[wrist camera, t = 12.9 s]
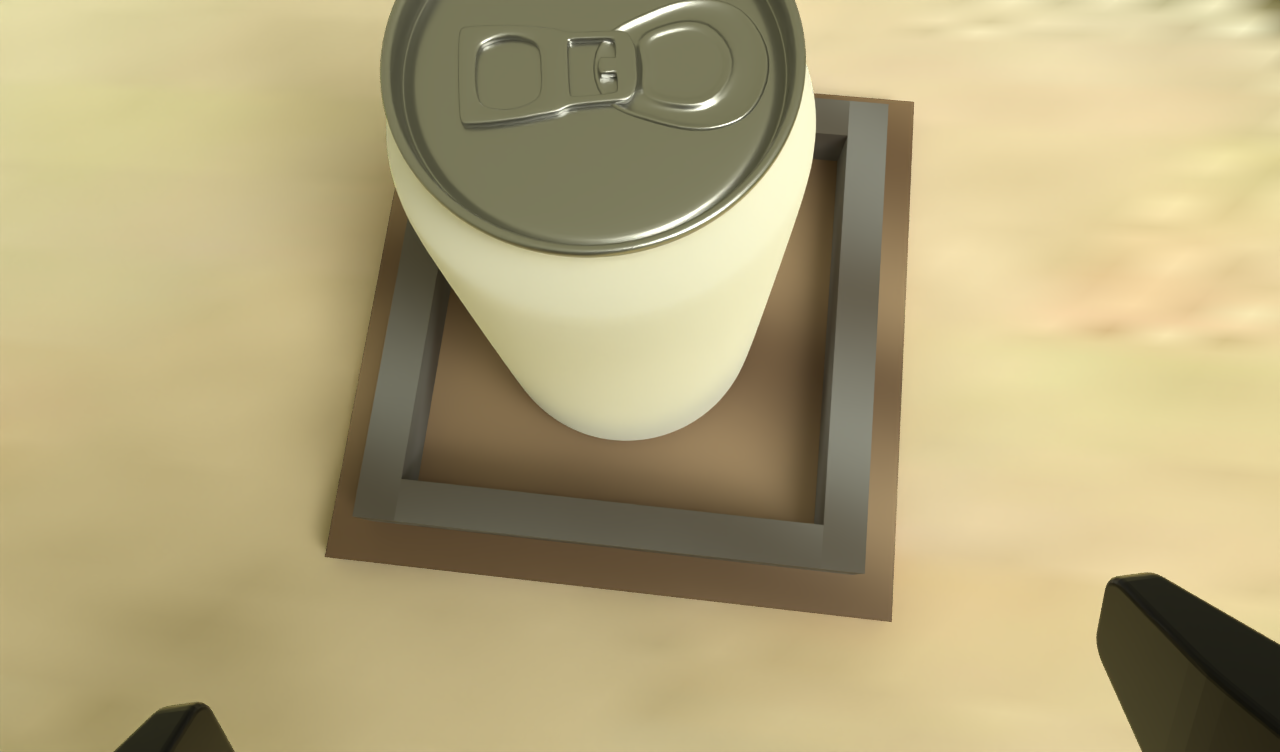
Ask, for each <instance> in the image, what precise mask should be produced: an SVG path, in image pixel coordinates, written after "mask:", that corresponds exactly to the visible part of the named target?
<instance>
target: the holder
mask: <svg viewBox="0 0 1280 752" xmlns="http://www.w3.org/2000/svg"><path fill="white" fill-rule="evenodd" d="M814 99H815V109H816V134H815V144H814V153H813V160H812V165H811V170H810V174H809V178H808V181H807V185H806V189H805V192H804V196H803V199H802V202H801V205H800V208H799V211H798V214H797V217H796V220H795V223H794V226H793V229H792V232H791V235H790V238H789V241H788V244H787V247H786V250H785V252H784V255H783V258H782V261H781V264H780V267H779V270H778V272H777V275H776V278H775V281H774V284H773V287H772V289H771V292H770V295H769V298H768V301H767V303H766V306H765V309H764V312H763V315H762V317H761V320H760V323H759V326H758V328H757V331H756V334H755V337H754V339H753V342H752V344H751V347H750V350H749V352H748V355H747V357H746V359H745V362H744V364H743V366H742V368H741V370H740V372H739V374H738V376H737V378H736V379H735V381H734V383H733V384H732V385H731V387H730V388H729V390H728V391H727V392H726V394H725V395H724V396H723V397H722V398H721V399H720V400H719V402H718V403H717V404H716V405H715V406H714V407H712V408H711V409H710V410H709V411H708V412H707V413H705V414H704V415H703V416H701V417H700V418H699V419H697V420H695V421H694V422H692V423H691V424H689V425H687V426H685V427H683V428H681V429H679V430H677V431H674V432H672V433H669V434H666V435H662V436H659V437H655V438H650V439H644V440H634V441H619V440H609V439H602V438H598V437H594V436H590V435H587V434H584V433H581V432H578V431H576V430H574V429H572V428H570V427H568V426H566V425H564V424H562V423H561V422H559V421H557V420H556V419H554V418H553V417H552V416H550V415H549V414H548V413H546V412H545V411H544V410H543V409H542V408H540V407H539V406H538V405H537V404H536V403H535V402H534V401H533V400H532V398H531V397H530V396H529V395H528V394H527V393H526V391H525V390H524V389H523V388H522V386H521V385H520V384H519V382H518V381H517V380H516V378H515V377H514V375H513V374H512V373H511V371H510V370H509V368H508V367H507V366H506V364H505V363H504V362H503V360H502V359H501V357H500V356H499V354H498V353H497V352H496V350H495V349H494V347H493V346H492V345H491V343H490V342H489V340H488V339H487V337H486V336H485V335H484V333H483V332H482V330H481V329H480V327H479V326H478V325H477V323H476V322H475V320H474V319H473V317H472V316H471V315H470V313H469V312H468V310H467V309H466V307H465V306H464V304H463V303H462V302H461V300H460V299H459V297H458V296H457V294H456V293H455V291H454V290H453V288H452V287H451V286H450V284H449V283H448V281H447V280H446V278H445V277H444V275H443V274H442V272H441V271H440V269H439V268H438V266H437V265H436V263H435V262H434V260H433V259H432V257H431V256H430V254H429V253H428V251H427V250H426V248H425V247H424V245H423V243H422V242H421V240H420V238H419V237H418V235H417V233H416V232H415V230H414V228H413V227H412V225H411V223H410V221H409V219H408V217H407V215H406V213H405V211H404V208H403V206H402V204H401V201H400V199H399V196H398V193H397V191H396V188H395V192H394V197H393V202H392V207H391V213H390V218H389V223H388V228H387V234H386V239H385V244H384V249H383V255H382V260H381V265H380V270H379V276H378V281H377V286H376V291H375V297H374V302H373V307H372V312H371V317H370V323H369V328H368V333H367V338H366V344H365V349H364V354H363V359H362V365H361V370H360V375H359V380H358V386H357V391H356V396H355V401H354V407H353V412H352V417H351V422H350V428H349V433H348V438H347V443H346V449H345V454H344V459H343V464H342V470H341V475H340V480H339V485H338V491H337V496H336V501H335V506H334V512H333V517H332V522H331V527H330V533H329V538H328V543H327V548H326V554H325V557H331V558H339V559H348V560H357V561H366V562H374V563H383V564H392V565H400V566H409V567H418V568H427V569H435V570H444V571H453V572H461V573H470V574H479V575H488V576H496V577H505V578H514V579H522V580H531V581H540V582H549V583H557V584H566V585H575V586H583V587H592V588H601V589H610V590H618V591H627V592H636V593H644V594H653V595H662V596H671V597H679V598H688V599H697V600H705V601H714V602H723V603H732V604H740V605H749V606H758V607H766V608H775V609H784V610H793V611H801V612H810V613H819V614H827V615H836V616H845V617H854V618H862V619H871V620H880V621H888V622H892V601H893V578H894V555H895V532H896V508H897V485H898V462H899V439H900V416H901V393H902V370H903V346H904V323H905V300H906V277H907V254H908V231H909V207H910V184H911V161H912V138H913V115H914V102H909V101H897V100H885V99H873V98H861V97H849V96H838V95H826V94H814Z"/></svg>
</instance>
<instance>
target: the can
mask: <svg viewBox="0 0 1280 752" xmlns="http://www.w3.org/2000/svg"><path fill="white" fill-rule="evenodd" d="M380 83H381V93H382V100H383V106H384V110H385V115H386V118H387V120H386V142H387V153H388V160H389V165H390V170H391V174H392V178H393V181H394V185H395V188H396V191H397V193H398V196H399V199H400V201H401V204H402V206H403V208H404V211H405V213H406V215H407V217H408V219H409V221H410V223H411V225H412V227H413V228H414V230H415V232H416V233H417V235H418V237H419V238H420V240H421V242H422V243H423V245H424V247H425V248H426V250H427V251H428V253H429V254H430V256H431V257H432V259H433V260H434V262H435V263H436V265H437V266H438V268H439V269H440V271H441V272H442V274H443V275H444V277H445V278H446V280H447V281H448V283H449V284H450V286H451V287H452V288H453V290H454V291H455V293H456V294H457V296H458V297H459V299H460V300H461V302H462V303H463V304H464V306H465V307H466V309H467V310H468V312H469V313H470V315H471V316H472V317H473V319H474V320H475V322H476V323H477V325H478V326H479V327H480V329H481V330H482V332H483V333H484V335H485V336H486V337H487V339H488V340H489V342H490V343H491V345H492V346H493V347H494V349H495V350H496V352H497V353H498V354H499V356H500V357H501V359H502V360H503V362H504V363H505V364H506V366H507V367H508V368H509V370H510V371H511V373H512V374H513V375H514V377H515V378H516V380H517V381H518V382H519V384H520V385H521V386H522V388H523V389H524V390H525V391H526V393H527V394H528V395H529V396H530V397H531V398H532V400H533V401H534V402H535V403H536V404H537V405H538V406H539V407H540V408H542V409H543V410H544V411H545V412H546V413H548V414H549V415H550V416H552V417H553V418H554V419H556V420H557V421H559V422H561V423H562V424H564V425H566V426H568V427H570V428H572V429H574V430H576V431H578V432H581V433H584V434H587V435H590V436H594V437H598V438H602V439H609V440H619V441H634V440H644V439H650V438H655V437H659V436H662V435H666V434H669V433H672V432H674V431H677V430H679V429H681V428H683V427H685V426H687V425H689V424H691V423H692V422H694V421H695V420H697V419H699V418H700V417H701V416H703V415H704V414H705V413H707V412H708V411H709V410H710V409H711V408H712V407H714V406H715V405H716V404H717V403H718V402H719V400H720V399H721V398H722V397H723V396H724V395H725V394H726V392H727V391H728V390H729V388H730V387H731V385H732V384H733V383H734V381H735V379H736V378H737V376H738V374H739V372H740V370H741V368H742V366H743V364H744V362H745V359H746V357H747V355H748V352H749V350H750V347H751V344H752V342H753V339H754V337H755V334H756V331H757V328H758V326H759V323H760V320H761V317H762V315H763V312H764V309H765V306H766V303H767V301H768V298H769V295H770V292H771V289H772V287H773V284H774V281H775V278H776V275H777V272H778V270H779V267H780V264H781V261H782V258H783V255H784V252H785V250H786V247H787V244H788V241H789V238H790V235H791V232H792V229H793V226H794V223H795V220H796V217H797V214H798V211H799V208H800V205H801V202H802V199H803V196H804V192H805V189H806V185H807V181H808V178H809V174H810V170H811V165H812V160H813V153H814V144H815V134H816V109H815V99H814V92H813V87H812V82H811V78H810V74H809V71H808V68H807V65H806V49H805V39H804V32H803V27H802V23H801V19H800V15H799V12H798V8H797V5H796V3H795V0H396V1H395V3H394V5H393V8H392V11H391V13H390V16H389V19H388V22H387V26H386V30H385V33H384V38H383V44H382V50H381V60H380Z"/></svg>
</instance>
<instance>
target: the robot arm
mask: <svg viewBox="0 0 1280 752" xmlns="http://www.w3.org/2000/svg"><path fill="white" fill-rule="evenodd" d="M1096 638H1097V648H1098V652H1099V656H1100V659H1101V661H1102V664H1103V666H1104V668H1105V670H1106V672H1107V675H1108V677H1109V679H1110V681H1111V684H1112V686H1113V688H1114V690H1115V693H1116V695H1117V697H1118V699H1119V701H1120V704H1121V706H1122V708H1123V710H1124V713H1125V715H1126V717H1127V719H1128V722H1129V724H1130V726H1131V728H1132V730H1133V733H1134V735H1135V737H1136V739H1137V742H1138V744H1139V746H1140V748H1141V751H1142V752H1280V644H1278V643H1276V642H1275V641H1273V640H1271V639H1269V638H1268V637H1266V636H1264V635H1263V634H1261V633H1259V632H1257V631H1256V630H1254V629H1252V628H1250V627H1249V626H1247V625H1245V624H1244V623H1242V622H1240V621H1238V620H1237V619H1235V618H1233V617H1231V616H1230V615H1228V614H1226V613H1225V612H1223V611H1221V610H1219V609H1218V608H1216V607H1214V606H1212V605H1211V604H1209V603H1207V602H1205V601H1204V600H1202V599H1200V598H1199V597H1197V596H1195V595H1193V594H1192V593H1190V592H1188V591H1186V590H1185V589H1183V588H1181V587H1180V586H1178V585H1176V584H1174V583H1173V582H1171V581H1169V580H1167V579H1166V578H1164V577H1162V576H1160V575H1158V574H1154V573H1138V574H1131V575H1124V576H1116V577H1114V578H1112V579H1111V580H1110V581H1109V582H1108V583H1107V585H1106V588H1105V593H1104V598H1103V603H1102V608H1101V614H1100V619H1099V624H1098V629H1097V637H1096ZM114 752H234V750H233V748H232V746H231V744H230V742H229V741H228V739H227V737H226V735H225V733H224V732H223V730H222V728H221V726H220V725H219V723H218V721H217V719H216V717H215V716H214V714H213V712H212V710H211V709H210V708H209V706H207V705H205V704H204V703H201V702H194V703H187V704H179V705H172V706H167V707H164V708H161V709H160V710H158V711H156V712H155V713H154V714H153V715H152V716H151V717H149V718H148V719H147V720H146V721H145V722H144V723H143V724H142V725H141V726H140V727H139V728H138V729H137V730H136V731H135V732H134V733H133V734H132V735H131V736H130V737H129V738H128V739H127V740H125V741H124V742H123V743H122V744H121V745H120V746H119V747H118V748H117V749H116V750H115V751H114Z"/></svg>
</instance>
